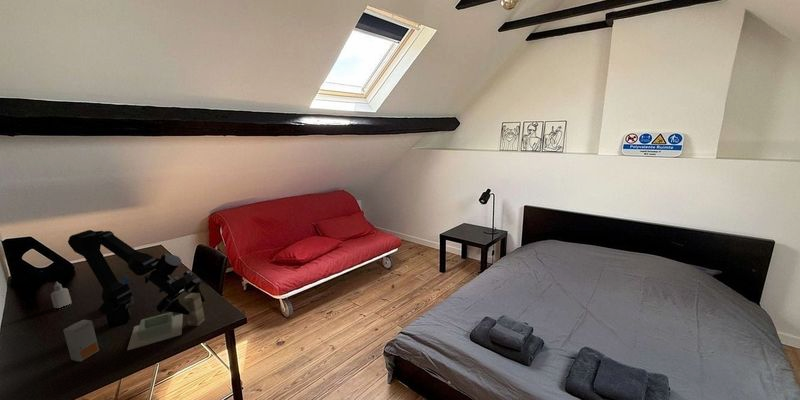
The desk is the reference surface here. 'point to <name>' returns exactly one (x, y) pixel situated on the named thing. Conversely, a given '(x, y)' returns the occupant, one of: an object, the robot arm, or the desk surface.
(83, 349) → the skincare box
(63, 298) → the eye dropper bottle
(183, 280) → the robot arm
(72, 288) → the desk surface
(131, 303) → the label tape cartridge
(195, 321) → the ash peg
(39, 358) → the desk surface
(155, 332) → the socket board
